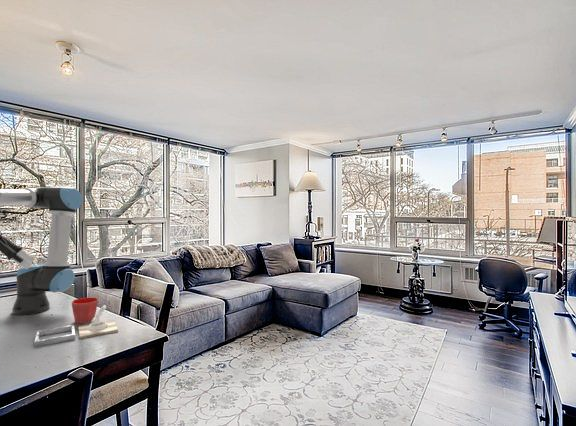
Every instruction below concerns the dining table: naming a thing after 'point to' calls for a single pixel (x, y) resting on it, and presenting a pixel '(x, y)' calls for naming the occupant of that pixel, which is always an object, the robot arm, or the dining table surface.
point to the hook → (98, 321)
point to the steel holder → (54, 339)
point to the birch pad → (88, 333)
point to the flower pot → (84, 309)
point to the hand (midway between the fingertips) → (31, 264)
